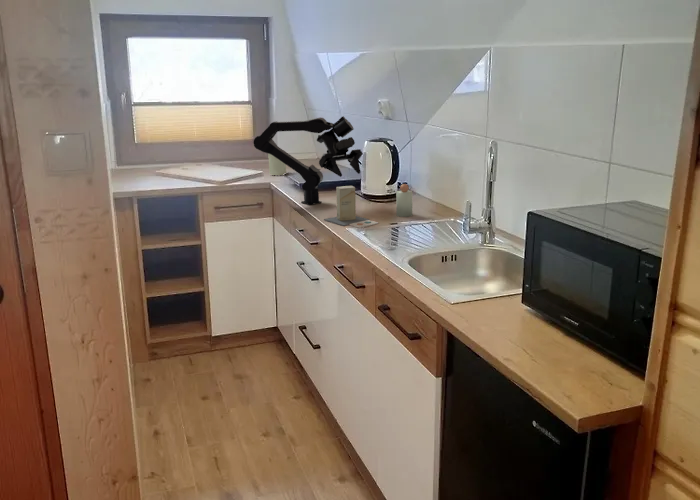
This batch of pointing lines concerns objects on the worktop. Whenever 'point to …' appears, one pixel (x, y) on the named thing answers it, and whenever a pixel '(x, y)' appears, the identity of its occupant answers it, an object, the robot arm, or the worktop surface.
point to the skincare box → (346, 203)
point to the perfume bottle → (404, 201)
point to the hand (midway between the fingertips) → (350, 174)
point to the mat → (346, 222)
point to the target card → (363, 223)
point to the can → (276, 166)
